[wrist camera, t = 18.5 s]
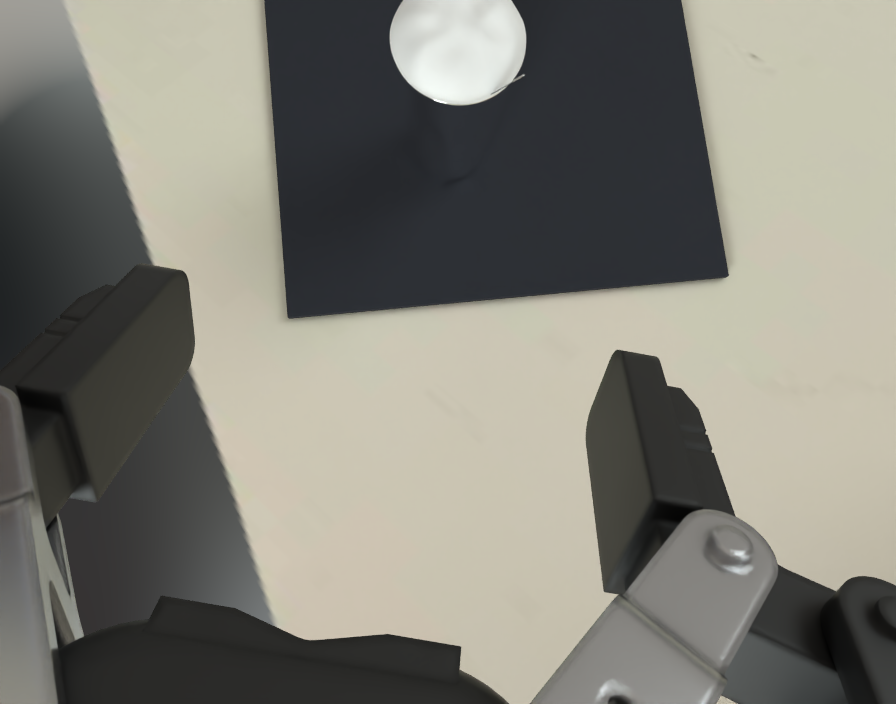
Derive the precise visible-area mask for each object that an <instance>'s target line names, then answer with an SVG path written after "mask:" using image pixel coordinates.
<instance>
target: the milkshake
mask: <svg viewBox="0 0 896 704" xmlns="http://www.w3.org/2000/svg"><path fill="white" fill-rule="evenodd" d="M390 47H391V52H392V55H393V58H394V63H395V67H396V72H397V76H398V81H399V85H400V90H401V95H402V100H403V106H404V112H405V118H406V124H407V130H408V136H409V142H410V148H411V153H412V157H413V158H414V160H415V161H416V163H417V164H418V166H419V167H420V169H421V170H422V172H423V173H424V174H425V175H428V176H430V177H433V178H435V179H438V180H440V181H443V182H448V181H453V180H457V179H461V178H466V177H467V176H468V175H469V174H470V172H471V171H472V170H473V169H474V168H475V167H476V166H477V164H478V163H479V162H480V161H481V159H482V156H483V154H484V151H485V149H486V146H487V144H488V142H489V139H490V137H491V134H492V132H493V129H494V127H495V124H496V122H497V119H498V117H499V114H500V111H501V109H502V106H503V104H504V102H505V100H506V98H507V95H508V93H509V91H510V89H511V87H512V85H513V82H515V81H517V80H518V79H520V78H522V77H523V76H525V74H523V75H521V76H520V77H518V78H516V76H517V74H518V72H519V70H520V68H521V66H522V63H523V60H524V56H525V50H526V31H525V26H524V22H523V20H522V18H521V16H520V14H519V12H518V10H517V9H516V7H515V5H514V4H513V2H512V1H511V0H403V1H402V3H401V4H400V6H399V8H398V9H397V11H396V13H395V15H394V18H393V20H392V24H391V28H390ZM515 78H516V79H515Z"/></svg>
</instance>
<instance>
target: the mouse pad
mask: <svg viewBox="0 0 896 704" xmlns="http://www.w3.org/2000/svg"><path fill="white" fill-rule="evenodd" d="M402 1H403V0H265V14H266V27H267V41H268V55H269V68H270V82H271V96H272V109H273V123H274V136H275V150H276V164H277V177H278V191H279V205H280V218H281V232H282V246H283V259H284V273H285V287H286V300H287V314H288V318H300V317H311V316H322V315H332V314H343V313H354V312H364V311H375V310H385V309H396V308H407V307H417V306H428V305H439V304H449V303H460V302H470V301H481V300H492V299H502V298H513V297H524V296H534V295H545V294H556V293H566V292H577V291H587V290H598V289H609V288H619V287H630V286H641V285H651V284H662V283H672V282H683V281H694V280H704V279H715V278H726V277H727V276H729V274H728V269H727V263H726V257H725V251H724V245H723V240H722V234H721V228H720V222H719V216H718V211H717V205H716V199H715V193H714V187H713V182H712V176H711V170H710V164H709V158H708V153H707V147H706V141H705V135H704V129H703V124H702V118H701V112H700V106H699V100H698V95H697V89H696V83H695V77H694V71H693V66H692V60H691V54H690V48H689V43H688V37H687V31H686V25H685V19H684V14H683V8H682V2H681V0H511V1H512V2H513V4H514V5H515V7H516V9H517V10H518V12H519V14H520V16H521V18H522V20H523V22H524V26H525V31H526V50H525V56H524V60H523V63H522V66H521V68H520V70H519V72H518V74H517V76H516V78H518V77H520V76H521V75H523V74H525V76H523V77H522V78H520V79H518V80H517V81H515V82H513V85H512V87H511V89H510V91H509V93H508V95H507V98H506V100H505V102H504V104H503V106H502V109H501V111H500V114H499V117H498V119H497V122H496V124H495V127H494V129H493V132H492V134H491V137H490V139H489V142H488V144H487V146H486V149H485V151H484V154H483V156H482V159H481V161H480V162H479V163H478V164H477V166H476V167H475V168H474V169H473V170H472V171H471V172H470V174H469V175H468V176H467V177H466V178H461V179H457V180H453V181H448V182H443V181H440V180H438V179H435V178H433V177H430V176H428V175H425V174H424V173H423V172H422V170H421V169H420V167H419V166H418V164H417V163H416V161H415V160H414V158H413V157H412V153H411V148H410V142H409V136H408V130H407V124H406V118H405V112H404V106H403V100H402V95H401V90H400V85H399V81H398V76H397V72H396V67H395V63H394V58H393V55H392V52H391V47H390V28H391V24H392V20H393V18H394V15H395V13H396V11H397V9H398V8H399V6H400V4H401V3H402ZM516 78H515V79H516Z"/></svg>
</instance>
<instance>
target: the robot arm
mask: <svg viewBox="0 0 896 704" xmlns="http://www.w3.org/2000/svg"><path fill="white" fill-rule="evenodd" d="M194 347H195V336H194V327H193V318H192V309H191V300H190V291H189V282H188V278H187V275H186V274H185V272H183V271H181V270H176V269H170V268H165V267H159V266H153V265H148V264H142V263H141V264H138V265H136V266H135V267H134V268H133V269H132V270H131V271H130V272H129V273H128V274H127V275H126V276H125V277H124V278H123V279H122V280H121V281H120V282H119V283H118V284H117V285H116V286H111V285H105V286H102V287H100V288H98V289H96V290H94V291H92V292H90V293H88V294H85V295H83V296H81V297H79V298H78V299H77V300H76V301H75V302H74V303H73V304H72V305H70V306H69V307H68V308H67V309H66V310H65V311H64V312H63V313H62V314H61V315H60V319H58V318H56V319H55V320H54V321H53V322H52V323H51V324H50V325H49V326H48V327H47V328H46V329H45V333H41V334H39V335H38V336H37V337H36V338H35V339H34V340H33V341H32V342H31V343H30V344H29V345H27V346H26V347H25V348H24V349H23V350H22V351H21V352H20V353H19V354H18V355H17V356H16V357H15V358H13V359H12V360H11V361H10V362H9V363H8V364H7V365H6V366H5V367H4V368H3V369H2V370H1V371H0V704H509V703H508V702H507V701H506V700H505V699H504V698H502V697H501V696H500V695H499V694H497V693H496V692H495V691H494V690H492V689H491V688H490V687H489V686H487V685H486V684H484V683H483V682H481V681H479V680H478V679H476V678H475V677H473V676H471V675H469V674H467V673H465V672H463V671H461V670H459V668H460V655H461V647H460V646H455V645H449V644H443V643H437V642H431V641H425V640H419V639H413V638H407V637H401V636H396V635H390V634H384V635H372V636H361V637H349V638H337V639H325V640H304V639H301V638H298V637H296V636H294V635H292V634H290V633H288V632H285V631H283V630H281V629H279V628H277V627H275V626H272V625H270V624H268V623H266V622H264V621H261V620H259V619H257V618H255V617H253V616H251V615H249V614H246V613H244V612H242V611H240V610H238V609H236V608H230V607H224V606H219V605H213V604H207V603H201V602H195V601H189V600H183V599H177V598H171V597H165V596H161V597H160V599H159V601H158V603H157V605H156V607H155V609H154V611H153V613H152V615H151V617H150V619H147V620H138V621H133V622H128V623H123V624H118V625H115V626H112V627H108V628H105V629H101V630H99V631H96V632H94V633H91V634H89V635H86V636H84V635H83V631H82V628H81V624H80V620H79V616H78V611H77V606H76V601H75V595H74V590H73V584H72V580H71V574H70V568H69V563H68V558H67V553H66V547H65V541H64V536H63V531H62V525H61V521H60V518H59V515H58V512H59V511H60V509H61V508H62V507H63V505H64V504H65V503H66V501H67V500H68V498H74V499H80V500H85V501H91V502H98V500H99V499H100V497H101V496H102V494H103V493H104V491H105V490H106V489H107V487H108V486H109V484H110V483H111V481H112V480H113V478H114V477H115V475H116V474H117V473H118V471H119V470H120V468H121V467H122V465H123V464H124V462H125V461H126V459H127V458H128V457H129V455H130V454H131V452H132V451H133V449H134V448H135V446H136V445H137V443H138V442H139V441H140V439H141V438H142V436H143V435H144V433H145V432H146V430H147V429H148V427H149V426H150V424H151V423H152V422H153V420H154V419H155V417H156V416H157V414H158V413H159V411H160V410H161V408H162V407H163V406H164V404H165V403H166V401H167V400H168V398H169V397H170V395H171V394H172V392H173V391H174V390H175V388H176V387H177V385H178V384H179V382H180V381H181V379H182V378H183V376H184V375H185V374H186V372H187V370H188V369H189V366H190V364H191V361H192V358H193V354H194ZM705 432H706V429H705V426H704V423H703V421H702V418H701V415H700V412H699V409H698V408H697V407H696V406H695V404H694V403H693V402H692V401H691V400H690V398H689V397H688V396H687V395H686V394H685V392H684V391H683V390H682V389H681V388H676V387H671V386H667V383H666V380H665V377H664V373H663V370H662V367H661V363H660V360H659V359H658V358H657V357H655V356H649V355H644V354H638V353H633V352H627V351H621V350H616V351H615V352H614V353H613V355H612V357H611V359H610V361H609V364H608V366H607V369H606V372H605V374H604V377H603V379H602V382H601V384H600V387H599V389H598V392H597V395H596V397H595V400H594V402H593V405H592V407H591V410H590V413H589V417H588V421H587V428H586V448H587V456H588V464H589V473H590V481H591V489H592V497H593V506H594V514H595V522H596V531H597V539H598V547H599V556H600V564H601V572H602V580H603V589H604V592H608V593H614V594H619V595H617V597H616V598H615V599H614V600H613V601H612V602H611V603H610V604H609V606H608V607H607V608H606V609H605V611H604V612H603V613H602V614H601V616H600V617H599V618H598V619H597V621H596V622H595V623H594V624H593V626H592V627H591V628H590V629H589V631H588V632H587V633H586V634H585V636H584V637H583V638H582V639H581V641H580V642H579V643H578V644H577V646H576V647H575V648H574V649H573V651H572V652H571V653H570V654H569V655H568V657H567V658H566V659H565V660H564V662H563V663H562V664H561V665H560V667H559V668H558V669H557V670H556V672H555V673H554V674H553V675H552V677H551V678H550V679H549V680H548V682H547V683H546V684H545V685H544V687H543V688H542V689H541V690H540V692H539V693H538V694H537V695H536V697H535V698H534V699H533V700H532V702H531V703H530V704H716V703H717V701H718V700H719V698H720V696H721V695H722V696H724V697H726V698H728V699H730V700H732V701H734V702H736V703H738V704H896V586H895V585H893V584H891V583H889V582H886V581H884V580H881V579H877V578H874V577H867V576H858V577H854V578H851V579H849V580H847V581H846V582H845V583H844V584H843V585H842V586H841V587H840V588H839V589H838V590H837V592H836V591H834V590H832V589H830V588H827V587H825V586H823V585H821V584H818V583H816V582H814V581H812V580H809V579H807V578H805V577H802V576H800V575H798V574H796V573H793V572H791V571H789V570H787V569H785V568H783V567H781V566H780V565H778V564H777V560H776V557H775V555H774V553H773V551H772V549H771V547H770V546H769V544H768V543H767V542H766V540H765V539H764V538H763V537H762V536H761V535H760V534H759V533H758V532H757V531H756V530H755V529H754V528H752V527H751V526H750V525H748V524H747V523H746V522H744V521H742V520H741V519H739V518H737V517H736V516H735V514H734V511H733V508H732V505H731V502H730V499H729V496H728V493H727V490H726V487H725V484H724V482H723V479H722V476H721V473H720V470H719V467H718V464H717V461H716V458H715V455H714V453H712V452H711V450H712V447H711V444H710V441H709V438H708V435H705Z"/></svg>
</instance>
